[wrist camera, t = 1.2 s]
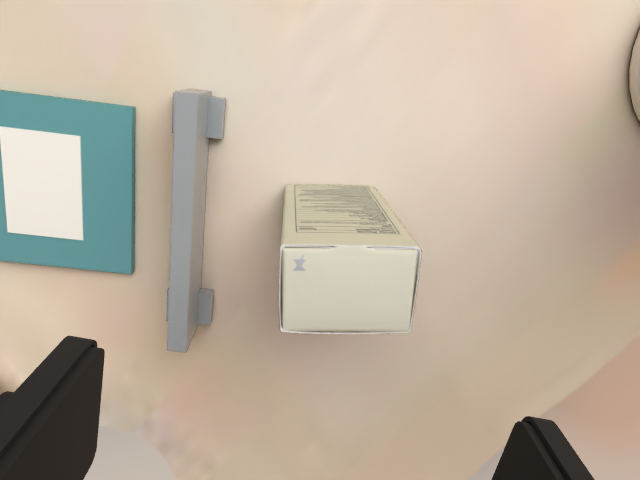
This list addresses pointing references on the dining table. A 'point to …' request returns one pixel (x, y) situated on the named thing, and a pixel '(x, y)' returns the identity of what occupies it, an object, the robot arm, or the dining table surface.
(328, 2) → the dining table surface
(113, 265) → the pad
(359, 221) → the skincare box
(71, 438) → the robot arm
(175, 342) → the grey drawer handle
